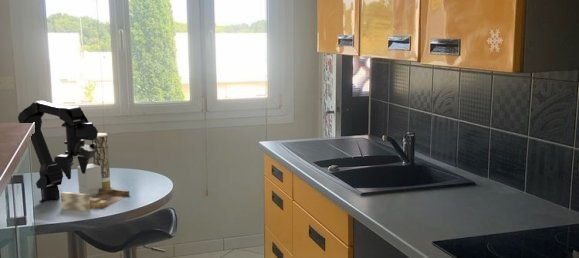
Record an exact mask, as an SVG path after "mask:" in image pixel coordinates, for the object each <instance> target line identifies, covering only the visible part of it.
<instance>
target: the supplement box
mask: <svg viewBox="0 0 579 258" xmlns="http://www.w3.org/2000/svg"><path fill="white" fill-rule="evenodd" d="M76 168H77V181H78V193H82V194H89V196H95V195H97V194H99V189H100V188H102V178H101V166H99V165H95V164H93V163H88V164H87V168H86V172H85V174H83V173H82V171H81V168H80V165H78V166H77V167H76Z"/></svg>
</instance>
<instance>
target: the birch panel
mask: <svg viewBox="0 0 579 258" xmlns="http://www.w3.org/2000/svg"><path fill="white" fill-rule="evenodd" d="M89 197H90V195H89V194H82V193H79V192H70V191H61V192H60V203H61V209H63V210H70V211H79V212H80V211H81V212H90V210H91V208H90V200H89Z"/></svg>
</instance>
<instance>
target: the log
mask: <svg viewBox="0 0 579 258" xmlns="http://www.w3.org/2000/svg"><path fill="white" fill-rule="evenodd" d="M93 143H95V144H96V145H97V152H95V155H94V157H92V164H95V165H99V166H101V178H102V188H104V189H111V176H110V175H111V172H110V158H109V157H110V156H109V137H108V133H107V132H98V135H97V137H96V139H95V140H91V144H93Z"/></svg>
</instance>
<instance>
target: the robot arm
mask: <svg viewBox="0 0 579 258" xmlns="http://www.w3.org/2000/svg"><path fill="white" fill-rule="evenodd" d="M45 114H48V115H51V116H55V117H58V118H59V120H61V121H62V122H63V123H62V124H61V125H60V126H61V127H63V128H65V139H66V140H64V142H63V143H64V145H66V150H65V151H64V154H63V153H61V154H59V155H55V156H54V157H53V156H52V155H51V153H50V150H49V148H48V144H47V141H46V140H45V136H44V134H43V131H42V124H43V120H42V119H43V116H45ZM17 120H18V123H19V124H20V123H33V122H35V133H34V134H32V136H31V139H30V141H31V145H32V146H33V150H34V152H35V154H36V156H37V159H38V163H39V165H40V168H39V172H38V173H39V178H38V179H37V181H36V183H35V185H36V187H37V189H40V193H41V195H40V197H41V199H40V200H38V202H39V203H45V202H54V201H58V200H61V194H60V189H59V186H60V185H62V182H63V177H64V175H65V177H66V178H67V180H71V178H72V166H73V165H74V162H73V161H74V159H76V158H77V160H78V161H77V162H78V164H79V165H78V166H80V168H81V171H82V173H83V174H85V172H86V168H87V164H89V160H90V159H93V157H94V155H95V152H97V145H96V144H95V143H93V144H92V143H90V144H86V141H92V140H95V139H96V137H97V135H98V133H99V132H98V131H99V130H98V129H97V127H96V126H94V123H93V122H90V121H89V120H88V118H87V116H86V115H85V113H84V111H83V110H82V108H81V107H80V106H78V105H66V106H63V105H60V104H55V103H51V102H48V101H46V100H36V101H33V102H32V103H31V104H30V105H29V106H27V107H26V108H24V109H23V110H22V111H21V112H19V113H18V116H17ZM52 157H53V158H52Z"/></svg>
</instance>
